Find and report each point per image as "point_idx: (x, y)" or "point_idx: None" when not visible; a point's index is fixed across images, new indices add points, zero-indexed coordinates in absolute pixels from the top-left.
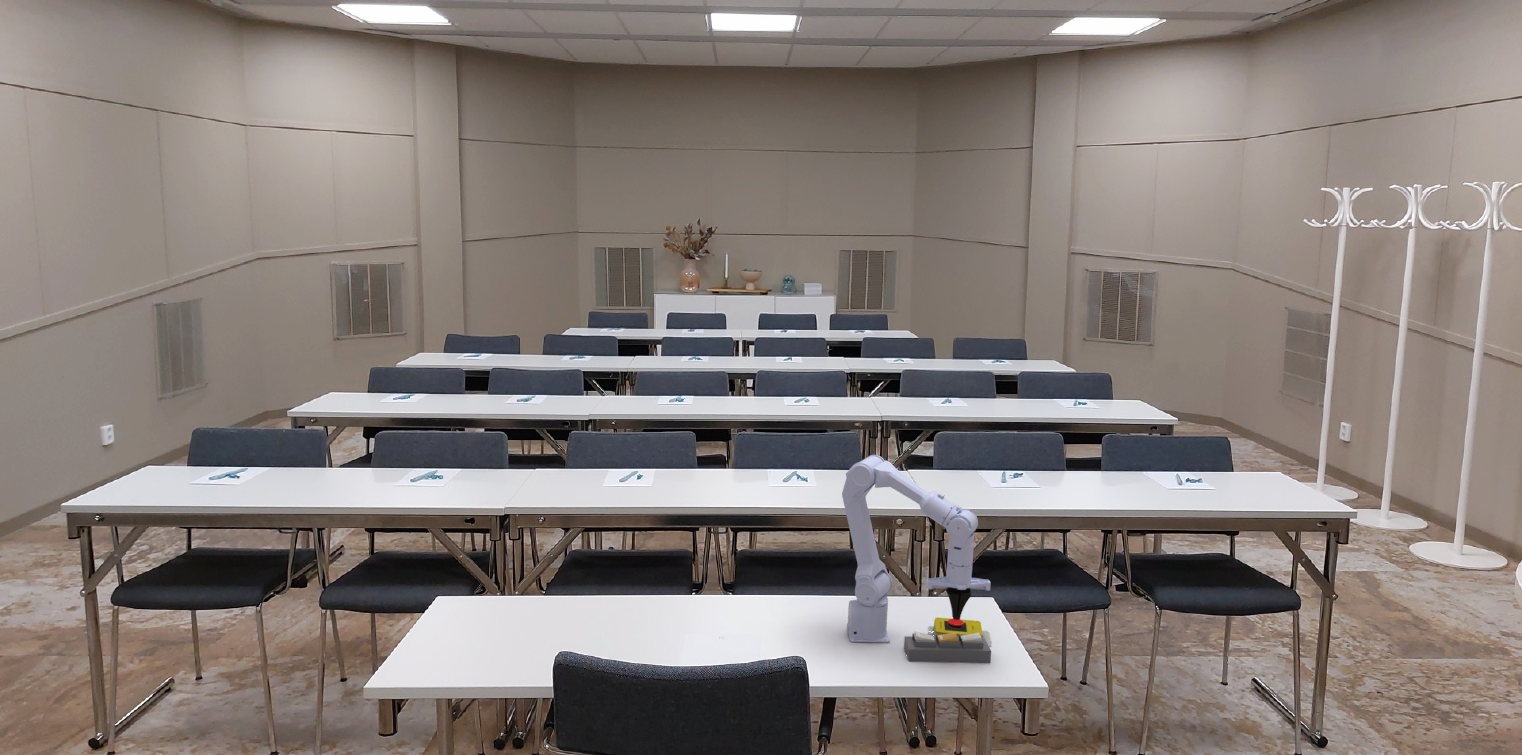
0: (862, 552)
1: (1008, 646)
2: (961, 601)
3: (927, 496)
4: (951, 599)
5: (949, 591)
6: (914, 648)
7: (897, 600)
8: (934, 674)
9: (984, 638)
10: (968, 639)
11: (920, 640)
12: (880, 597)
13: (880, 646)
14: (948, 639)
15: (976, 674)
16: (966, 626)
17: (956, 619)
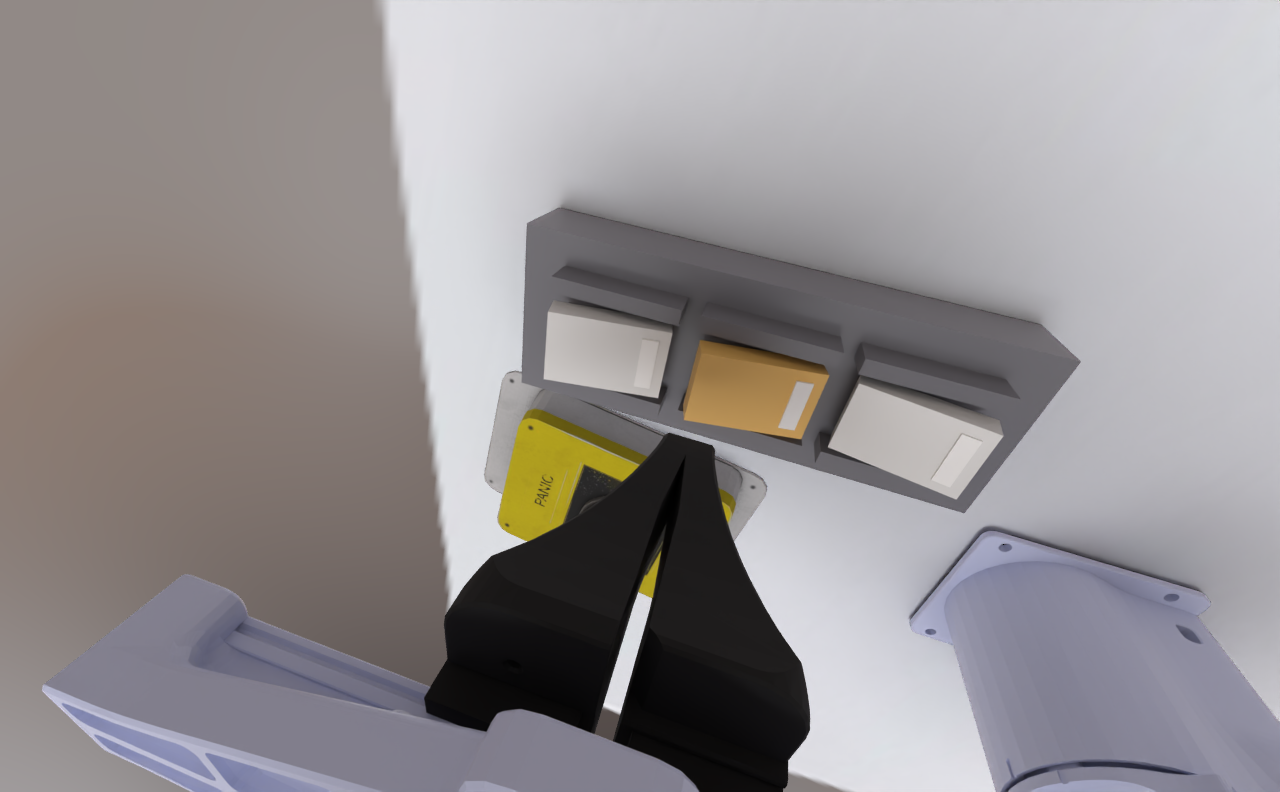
0: None
1: (433, 357)
2: (625, 549)
3: None
4: (760, 614)
5: (755, 756)
6: (1028, 364)
7: None
8: (996, 105)
9: (522, 378)
10: (631, 334)
11: (962, 411)
12: None
13: (1062, 515)
14: (766, 363)
15: (694, 63)
16: (568, 508)
17: (693, 441)
